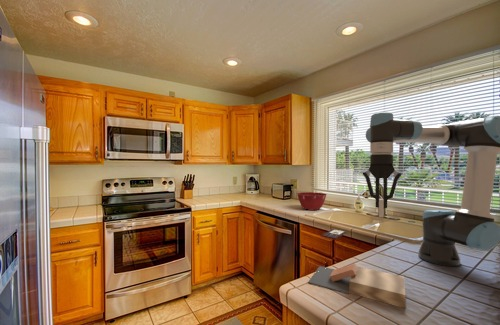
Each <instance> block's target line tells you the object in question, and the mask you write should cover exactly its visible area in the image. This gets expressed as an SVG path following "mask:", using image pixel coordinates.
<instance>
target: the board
mask: <svg viewBox="0 0 500 325" xmlns="http://www.w3.org/2000/svg"><path fill="white" fill-rule="evenodd" d="M356 267H357V268H358V269H357V272H356V275H354V276H351V278H350V281H349V294H353V295H356V296H359V297H362V298H363V297H364V298H367V299H370V300H374V301H378V302H381V303H385V304H389V305H393V306H396V307H400V308H404V309H406V299H407V297H406V287H405V285H406V284H405V276H403V275H398V274H393V273H388V272H385V271H380V270H376V269H375V270H374V269H370V268H366V267H361V266H357V265H356Z"/></svg>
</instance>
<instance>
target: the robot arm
mask: <svg viewBox="0 0 500 325" xmlns="http://www.w3.org/2000/svg"><path fill="white" fill-rule="evenodd" d="M365 138H366V140H367V142H369V143H370V146H369V148H370V150H369V151H370V154H371V155H370V158H369V159H370V160H369V163H370V164H369V167H368V170H366V171H363V172H362V175H363V176H364V178H365V182H366V185H367V189H368V192H369V196H370V197H371V198H374V199H375V208H378V217H379V218H384V216H385V215H384V214H385V209H387V208H388V200H389V199H393V198H394V195H395V191H396V188H397V185H398V181H399V179H400V177H401V176H402V173H401V172H399V171H397V170H395V169H396V168H395V167H394V155H393V153H394V143H409V144H410V143H411V144H412V143H413V144H414V143H415V144H417V143H418V144H432V145H434V146H447V147H456V148H457V147H459V148H463V147H464V149H463V150H465V151H466V152H467V153H468V155H467V161H466V168H465V174H464V181H463V182H464V183H463V189H462V196H461V197H462V198H461V205H460V208H458V209H456V210H450V209H449V210H447V209H426V210H424V211H423V214H422V242H421V244H420V246H419V249H418V257H419V258H420V259H422V261H423V260H424V261H425V262H428V263H431V264H435V265H439V266H447V267H457V266H460V265H461V257H460V255H459V252H458V250H457V247H456V244H459V245H462V246H464V247H468V248H470V249H475V250H478V251H483V252H484V251H485V252H486V251H490V250H492V249H494V248H495V247H497V246H498V244H499V243H500V225H499V224H497V223H496V222H495V217H494V216H493V215H492V214H491V212H490V211H491V204H492V196H493V188H494V182H495V175H496V174H495V173H496V169H497V168H496V167H497V160H498V155H499V153H500V115H494V116H493V115H492V116H488V115H487V116H485V117H479V118H474V119H468V120H461V121H457V122H453V123H452V122H451V123H447V124H436V125H435V126H429V125H428V126H423V125H422V123H421V122H420V121H419V120H414V119H397V118H394V114H393V112H388V111H386V112H385V111H383V112H377V113H373V114H372V115H371V116H370V125H369V128H367V129H366V131H365ZM371 175H372V177H373V178H375V192H374V189H373V185H372V181H371V178H370V176H371ZM391 175H393V177H394V178H393V181H392V184H391V188H390V191H389V194H388V179H389V178H390V177H391ZM381 179H382V180H383V187H382V188H383V191H382V192H383V198H380V182H381V181H380V180H381Z"/></svg>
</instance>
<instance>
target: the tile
mask: <svg viewBox="0 0 500 325" xmlns="http://www.w3.org/2000/svg"><path fill="white" fill-rule="evenodd" d="M356 266H357V265H356V263H352V264H349V265H345V266H343V267H339V268H337V269H335V270H333V271H332V273H331V275H330V278H331V280H332V282H333V281H337V280H340V279H344V278H347V277H351V276H354V275H356V272H357V269H358V268H357V267H358V266H357V267H356Z"/></svg>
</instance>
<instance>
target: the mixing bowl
mask: <svg viewBox="0 0 500 325" xmlns="http://www.w3.org/2000/svg"><path fill="white" fill-rule="evenodd" d="M296 194H297V197H298V201H299V203H300V205H301V207H302V208H303V209H304V210H306V209H308V210H307V211H318V209H319V210H320V209H322V207H323V205H324V204H325V200H326V197H327V193H322V192H314V191H313V192H310V191H309V192H308V191H307V192H306V191H305V192H297V193H296Z"/></svg>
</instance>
